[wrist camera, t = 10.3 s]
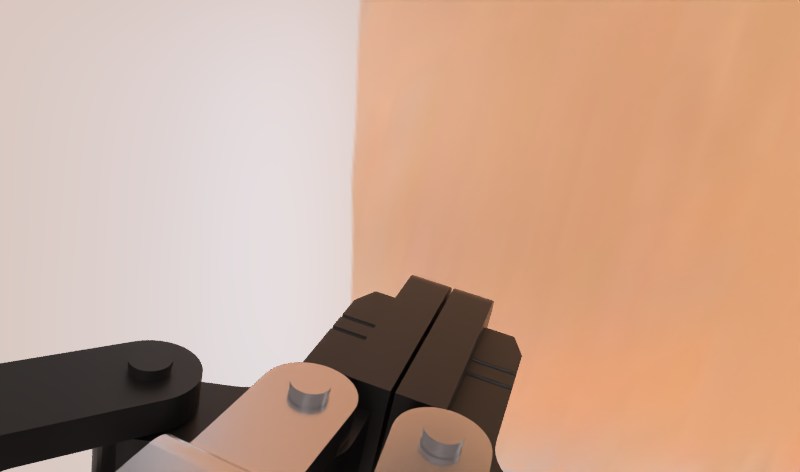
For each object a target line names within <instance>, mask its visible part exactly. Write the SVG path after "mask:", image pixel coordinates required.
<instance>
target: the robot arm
mask: <svg viewBox="0 0 800 472" xmlns="http://www.w3.org/2000/svg"><path fill="white" fill-rule="evenodd" d="M451 290H452V288H451V287H448V286H445V285H442V284H439V283H435V282H432V281H429V280H426V279H423V278H420V277H417V276H414V275H412V276H411V277H410V278H409V280H408V281H407V282H406V284H405V285H404V287H403V288H402V289H401V291H400V292H399V294H398V295H397V296H396V298H394V297H391V296H388V295H385V294H382V293H379V292H373V293H371V294H368V295H366V296H363V297H361V298H358V299H356V300H354V301H353V303H352V304H351V305H350V306H349V307H348V309H347V310H346V311H345V312H344V313H343V316H342V317H340V318H339V319H338V321H337V322H336V323H335V324H334V325H333V328H332V329H330V330H329V331H328V333H327V334H326V335H325V336H324V338H323V339H322V340H321V341H320V342H319V344H318V345H317V346H316V347H315V348H314V349H313V351H312V352H311V353H310V354H309V356H308V357H307V358H306V359H305V360H304V362H297V363H288V364H283V365H280V366H277V367H275V368H273V369H271V370H270V371H269V372H267V373H266V374H265V375H264V376H263V377H262V378H261V379H259V380H258V381H257V382H256V383H255V384H254V385H253V386H252V387H234V386H227V385H220V384H213V383H205V382H201V379H202V371H203V369H202V365H201V362H200V361H199V359H198V358H197V357H196V356H195V355H194V354H193V353H192V352H191V351H189V350H187V349H186V348H184V347H181V346H179V345H176V344H173V343H169V342H163V341H153V340H151V341H149V340H148V341H147V340H146V341H135V342H129V343H122V344H116V345H110V346H104V347H99V348H93V349H87V350H80V351H74V352H68V353H62V354H56V355H49V356H43V357H37V358H31V359H25V360H20V361H13V362H8V363H1V364H0V472H1V471H3V470H6V469H10V468H14V467H18V466H22V465H26V464H30V463H35V462H39V461H43V460H47V459H51V458H55V457H60V456H64V455H68V454H72V453H76V452H80V451H84V450H89V449H93V451H92V454H93V455H92V472H503V471H502V470H501V468H500V466H499V464H498V462H497V459H496V455H495V445H496V440H497V437H498V434H499V430H500V427H501V424H502V420H503V417H504V414H505V410H506V407H507V404H508V400H509V397H510V394H511V390H512V387H513V384H514V380H515V377H516V374H517V370H518V367H519V364H520V360H521V357H522V355H521V353H520V350H519V348H518V345H517V343H516V340H515V338H514V337H512V336H509V335H506V334H503V333H500V332H497V331H494V330H491V329H488V328H487V326H488V322H489V319H490V315H491V312H492V308H493V303H494V301H492V300H489V299H485V298H482V297H479V296H476V295H473V294H470V293H467V292H464V291H461V290H458V289H453V291H452V293H451Z"/></svg>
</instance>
